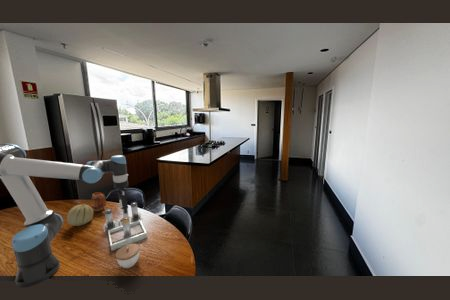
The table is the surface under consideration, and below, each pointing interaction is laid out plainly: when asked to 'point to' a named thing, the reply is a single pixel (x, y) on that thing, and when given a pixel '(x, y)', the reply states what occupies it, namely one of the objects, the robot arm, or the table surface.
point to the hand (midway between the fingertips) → (124, 212)
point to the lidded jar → (128, 255)
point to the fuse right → (134, 210)
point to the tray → (129, 239)
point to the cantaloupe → (80, 215)
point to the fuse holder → (119, 223)
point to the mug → (98, 201)
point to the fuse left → (109, 217)
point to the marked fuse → (126, 226)
